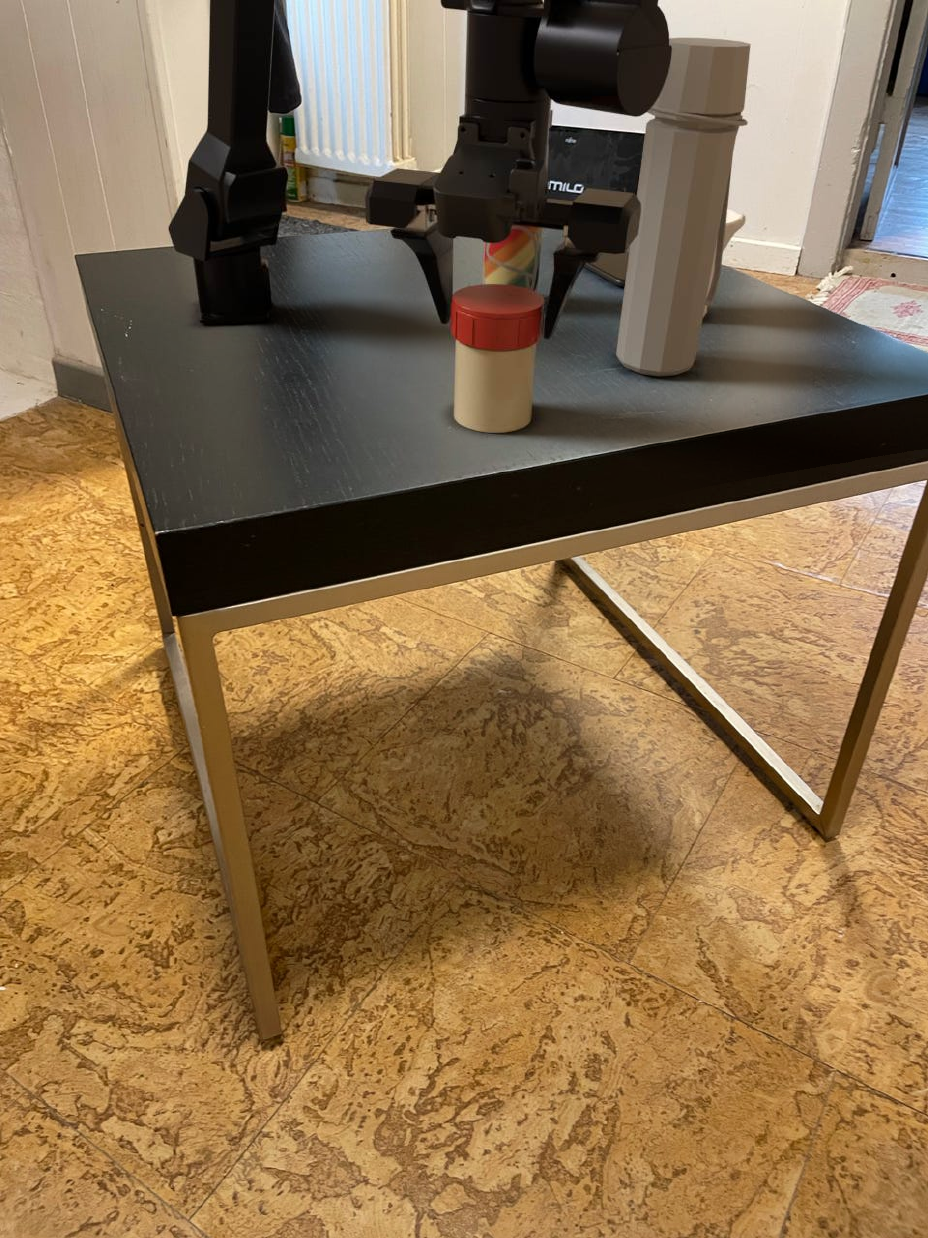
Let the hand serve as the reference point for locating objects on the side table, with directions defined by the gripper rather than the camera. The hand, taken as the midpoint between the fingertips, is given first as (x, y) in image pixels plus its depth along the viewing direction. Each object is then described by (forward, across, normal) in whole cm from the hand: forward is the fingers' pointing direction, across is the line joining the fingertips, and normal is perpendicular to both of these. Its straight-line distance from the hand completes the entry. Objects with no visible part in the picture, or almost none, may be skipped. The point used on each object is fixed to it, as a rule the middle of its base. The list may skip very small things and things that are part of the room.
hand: (496, 329), depth 71 cm
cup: (+7, +11, +32) cm, 34 cm away
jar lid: (-2, 0, 0) cm, 2 cm away
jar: (+7, 0, 0) cm, 7 cm away
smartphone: (+7, +1, +44) cm, 45 cm away
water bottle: (+7, +11, +17) cm, 21 cm away
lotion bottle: (+7, -6, +27) cm, 29 cm away
